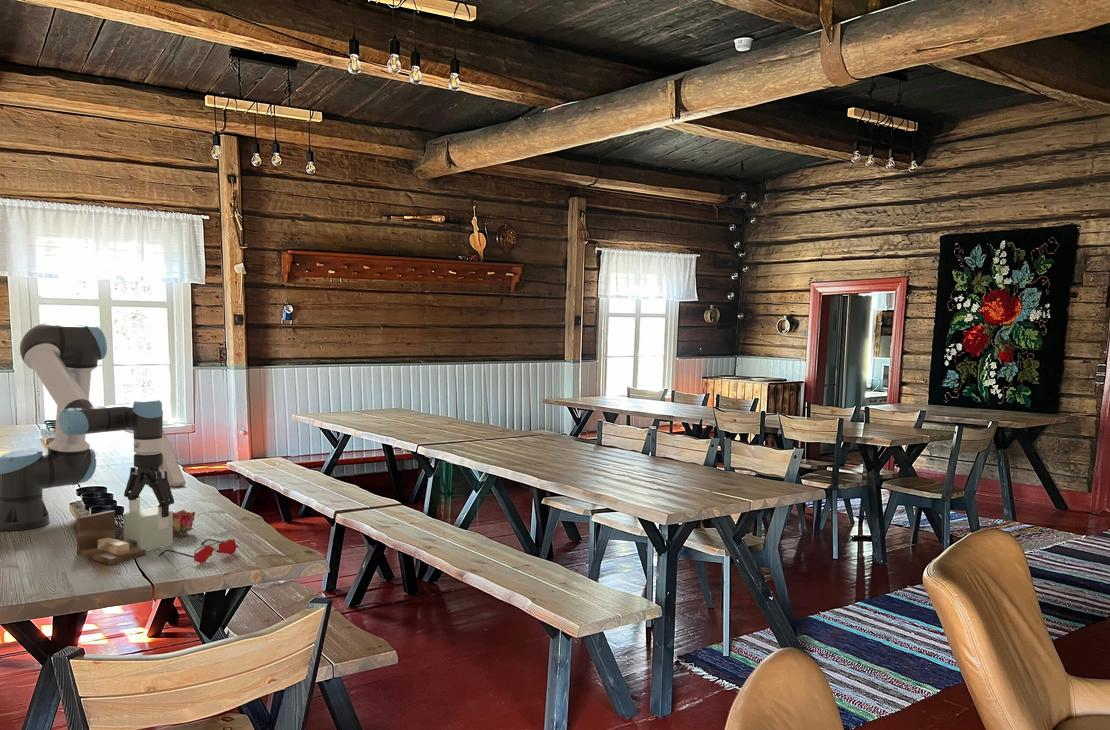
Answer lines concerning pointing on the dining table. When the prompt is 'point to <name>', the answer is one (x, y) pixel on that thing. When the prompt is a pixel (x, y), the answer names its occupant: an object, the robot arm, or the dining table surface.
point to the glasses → (210, 550)
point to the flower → (183, 522)
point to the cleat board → (99, 532)
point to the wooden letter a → (171, 465)
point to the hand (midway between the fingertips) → (148, 524)
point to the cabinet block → (147, 529)
